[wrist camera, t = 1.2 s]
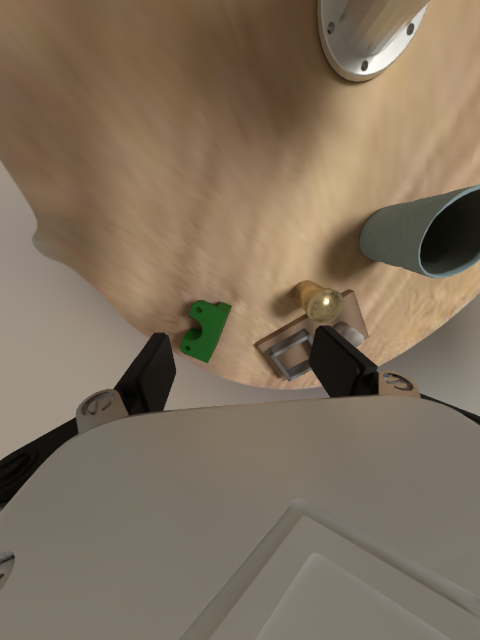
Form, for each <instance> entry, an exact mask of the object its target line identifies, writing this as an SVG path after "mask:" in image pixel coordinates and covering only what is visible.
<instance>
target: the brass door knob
mask: <svg viewBox="0 0 480 640" xmlns="http://www.w3.org/2000/svg"><path fill="white" fill-rule="evenodd" d="M293 299H294V300H295V302H296V303H297V304H299V305H300V306H301V307H302V308H303V309H304V310H305V311H306V314H307V316H308V317H309V318H310V319H311V320H312V321H313V322H315V323H318V324H325V323H328V322H331V321H333V320H334V319H335V318H337V317H338V316H339V314H340V313H341V311H342V309H343V306H344V300H343V297H342V295H341V294H340V293H339V292H337V291H335V290H333V289H330V288H324V287H322V286H320V285H318V284H316V283H314V282H312V281H309V280H305V281H302V282H300V283H299V284H297V285H296V287H295V288H294V290H293Z"/></svg>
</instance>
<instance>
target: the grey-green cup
mask: <svg viewBox="0 0 480 640" xmlns="http://www.w3.org/2000/svg"><path fill="white" fill-rule="evenodd" d="M359 246H360V250H361V252H362V253H363V255H364V256H366V257H367V258H369V259H372V260H376V261H379V262H383V263H385V264H389V265H392V266H396V267H402V268H404V269H407V270H410V271H413V272H416V273H418V274H421V275H425V276H428V277H431V278H446V277H450V276H453V275H455V274H458V273H460V272H463V271H464V270H466V269H468V268H469V267H471V266H473V265H474V264H475V263H477V262H478V261H479V260H480V185H476V186H472V187H467V188H463V189H459V190H455V191H452V192H449V193H445V194H442V195H437V196H432V197H427V198H423V199H419V200H415V201H411V202H406V203H401V204H395V205H391V206H387V207H384V208H382V209H380V210H379V211H377V212H376V213H374V214H373V215H372V216H371V217H370V218H369V219H368V220H367V222H366V223H365V225H364V227H363V228H362V231H361V234H360V239H359Z"/></svg>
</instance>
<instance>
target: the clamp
mask: <svg viewBox="0 0 480 640" xmlns="http://www.w3.org/2000/svg"><path fill="white" fill-rule="evenodd" d="M231 307H232V306H231V305H228V304H226V303H223V302H221V303H220V304H219V305H218V306H216V305H213V304H211V303H208V302H206V301H204V300H198V301H197V302H195V303H194V304H193V305H192V307H191V310H190V314H189V317H193V318H195V319H196V320H198V321H199V323H200V324H201V326H202V330H197V329H194V328H192V329H191V330H190V331H189V332H188V333H187V334H186V335H185V336H184V337H183V339H182V342H181V346H180V348H181V351H182V352H183V353H184V354H187V355H189V356H191V357H194V358H196V359H199V360H201V361H203V362H206V363H208V362H209V360H210V358H211V356H212V354H213V352H214V350H215V348H216V346H217V343H218V341H219V338H220V336H221V333H222V331H223V328H224V325H225V323H226V320H227V318H228V315H229V312H230V310H231Z"/></svg>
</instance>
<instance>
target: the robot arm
mask: <svg viewBox="0 0 480 640" xmlns="http://www.w3.org/2000/svg"><path fill="white" fill-rule="evenodd" d="M429 1H430V0H318V5H317V18H318V31H319V35H320V40H321V45H322V48H323V51H324V53H325V56H326V58H327V60H328V62H329V63H330V65H331V67H332V68H333V69H334V70H335V71H336V72H337V73H338V74H339V75H340V76H342V77H343V78H345V79H347V80H351V81H355V82H358V81H366V80H369V79H372V78H374V77H376V76H377V75H379V74H380V73H382V72H383V71H385V70H386V69H387V68H388V67H389V66H390V65H391V64H392V63H393V62H394V61H395V60H396V59H397V58H398V57H399V56H400V55H401V53H402V52H403V51H404V50H405V48H406V47H407V45H408V44H409V43H410V41H411V40H412V38H413V36H414V34H415V33H416V31H417V29H418V27H419V25H420V23H421V21H422V18H423V16H424V14H425V11H426V9H427V6H428V3H429ZM309 365H310V367H311V369H312V370H313V372H314V373H315V375H316V376H317V378H318V379H319V381H320V382H321V384H322V385H323V387H324V389H325V390H326V392H327V393H328V395H329V396H330V398H316V399H303V400H289V401H275V402H264V403H249V404H237V405H225V406H213V407H200V408H188V409H177V410H167V411H163V409H164V407H165V404H166V401H167V398H168V395H169V392H170V389H171V386H172V384H173V381H174V378H175V375H176V367H175V363H174V358H173V353H172V348H171V344H170V339H169V336H168V335H166V334H165V333H154V334H153V335H152V336H151V338H150V339H149V341H148V342H147V344H146V345H145V346H144V348H143V349H142V350H141V352H140V353H139V355H138V356H137V357H136V358H135V360H134V361H133V362H132V364H131V365H130V367H129V368H128V369H127V371H126V372H125V374H124V375H123V376H122V378H121V379H120V381H119V382H118V383H117V385H116V386H115V388H114V389H106V390H102V391H99V392H96V393H94V394H93V395H91V396H89V397H88V398H86V399H85V400H84V401H83V402H82V403H81V404H80V405H79V406H78V408H77V410H76V417H75V418H73V419H72V420H70V421H68V422H66V423H64V424H63V425H61V426H59V427H57V428H55V429H54V430H52V431H50V432H48V433H47V434H45V435H43V436H41V437H39V438H38V439H36V440H34V441H32V442H30V443H29V444H27V445H25V446H23V447H22V448H20V449H18V450H16V451H14V452H13V453H11V454H9V455H8V456H6V457H5V458H3V459H2V460H0V640H480V416H477V415H475V414H472V413H470V412H467V411H465V410H462V409H459V408H457V407H454V406H452V405H449V404H446V403H444V402H441V401H439V400H436V399H434V398H431V397H428V396H425V395H423V394H420V393H419V389H418V387H417V385H416V384H415V383H414V382H413V381H412V380H410V379H409V378H407V377H405V376H403V375H401V374H399V373H396V372H392V371H381V372H380V373H378V372H377V371H376V370H377V367H378V366H377V365H375V364H374V363H373V362H372V361H371V360H370V359H368V358H367V357H366V356H365V355H364V354H363V353H361V352H360V351H359V350H358V349H357V348H355V347H354V346H353V345H352V344H351V343H350V342H348V341H347V340H346V339H345V338H344V337H343V336H341V335H340V334H339V333H338V332H337V331H336V330H334V329H333V328H332V327H331V326H329V325H321V326H319V327H318V328H316V330H315V335H314V339H313V344H312V348H311V353H310V358H309Z"/></svg>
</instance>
